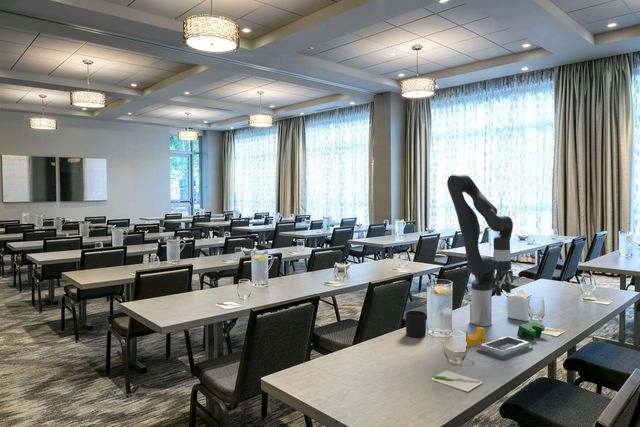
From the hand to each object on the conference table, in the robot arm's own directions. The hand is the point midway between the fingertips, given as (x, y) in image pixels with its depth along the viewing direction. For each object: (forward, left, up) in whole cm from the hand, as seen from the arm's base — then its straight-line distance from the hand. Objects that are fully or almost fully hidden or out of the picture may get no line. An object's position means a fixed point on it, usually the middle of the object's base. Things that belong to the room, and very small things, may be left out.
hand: (503, 294), depth 211 cm
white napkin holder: (-7, +23, -18) cm, 30 cm away
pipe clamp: (+2, -26, -18) cm, 31 cm away
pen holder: (-20, -36, -18) cm, 45 cm away
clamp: (+13, +2, -18) cm, 22 cm away
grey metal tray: (+16, -22, -17) cm, 32 cm away
